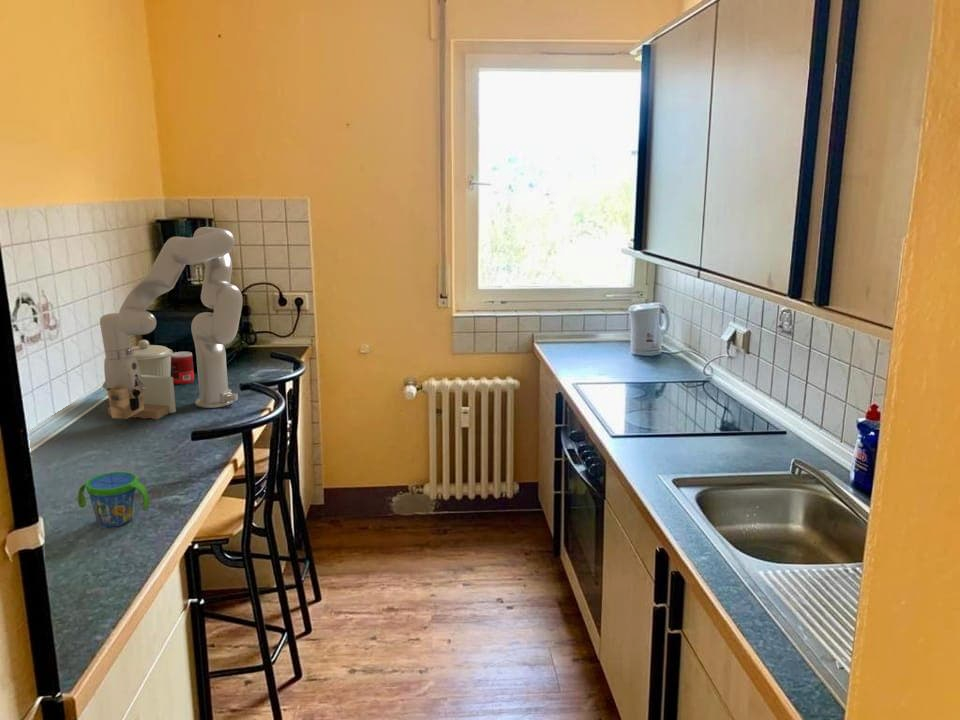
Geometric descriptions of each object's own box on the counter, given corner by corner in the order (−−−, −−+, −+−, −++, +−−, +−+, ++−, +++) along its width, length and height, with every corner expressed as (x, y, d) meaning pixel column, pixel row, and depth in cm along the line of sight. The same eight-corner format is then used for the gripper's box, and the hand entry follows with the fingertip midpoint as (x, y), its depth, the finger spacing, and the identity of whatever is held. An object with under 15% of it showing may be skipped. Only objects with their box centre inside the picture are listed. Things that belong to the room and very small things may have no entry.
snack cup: (160, 514, 179) (156, 473, 176) (133, 534, 169) (129, 492, 166) (99, 508, 181) (94, 469, 179) (70, 528, 171) (64, 486, 169)
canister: (186, 392, 275) (180, 335, 270) (160, 407, 258) (154, 346, 253) (138, 390, 277) (132, 333, 272) (110, 405, 260) (103, 345, 255)
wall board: (176, 411, 253) (172, 377, 250) (160, 419, 245) (156, 383, 242) (123, 407, 258) (119, 373, 255) (106, 414, 250) (102, 379, 247)
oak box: (144, 409, 245) (140, 382, 242) (124, 419, 236) (120, 392, 233) (130, 408, 246) (126, 381, 243) (110, 418, 237) (106, 391, 234)
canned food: (198, 379, 292) (195, 351, 289) (188, 385, 284) (185, 356, 282) (178, 378, 293) (176, 351, 290) (168, 384, 285) (166, 355, 282)
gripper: (150, 351, 237) (158, 406, 242) (103, 349, 241) (112, 403, 246) (134, 358, 230) (143, 414, 235) (86, 355, 234) (96, 411, 239)
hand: (127, 408), depth 241 cm, fingers closed on oak box, 5 cm apart
